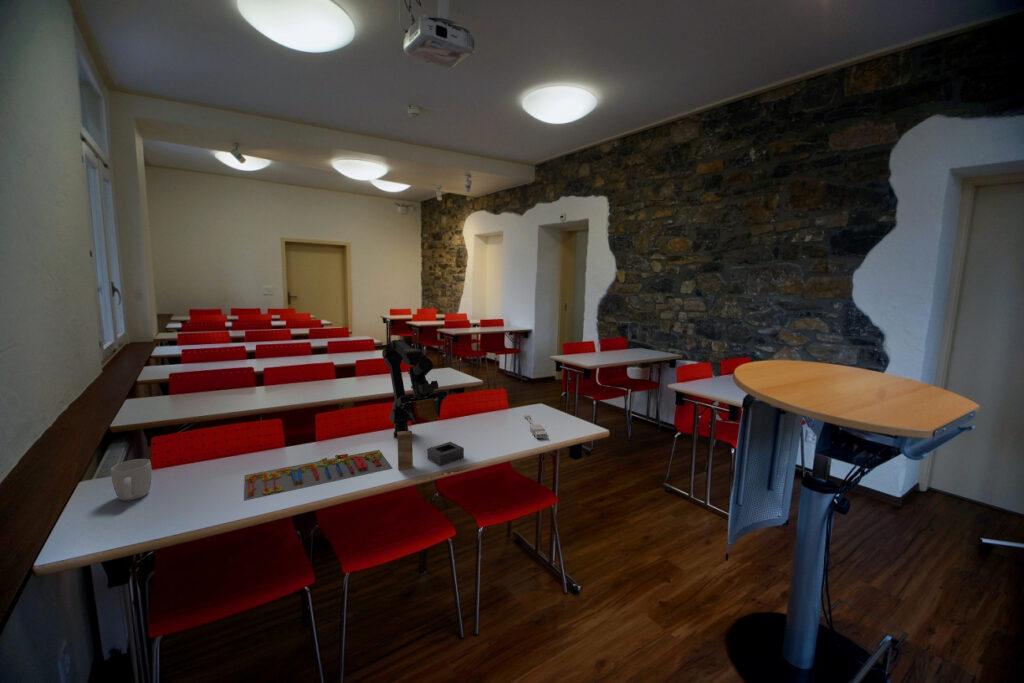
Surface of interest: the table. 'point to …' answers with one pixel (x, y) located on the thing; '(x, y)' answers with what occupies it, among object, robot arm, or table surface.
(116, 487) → the mug
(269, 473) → the gear board
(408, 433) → the brown wooden block
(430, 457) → the grey block holder
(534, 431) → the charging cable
